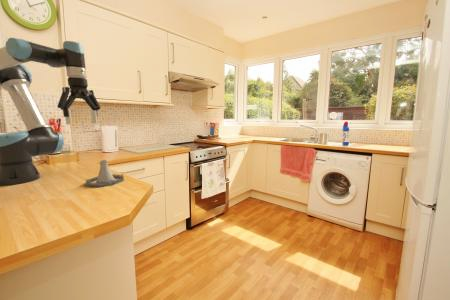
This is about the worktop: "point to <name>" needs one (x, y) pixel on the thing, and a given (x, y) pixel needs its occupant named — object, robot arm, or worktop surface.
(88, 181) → the collar
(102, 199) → the worktop surface
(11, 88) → the robot arm
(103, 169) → the flask
